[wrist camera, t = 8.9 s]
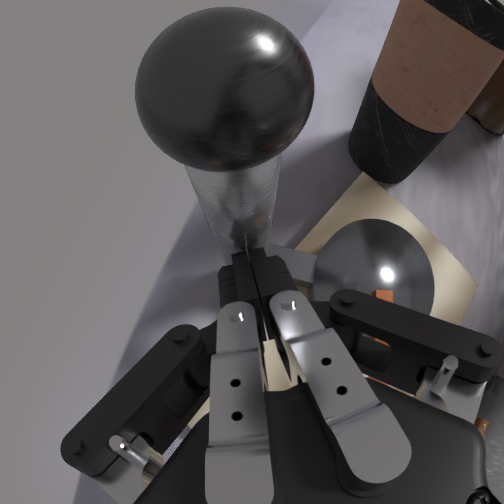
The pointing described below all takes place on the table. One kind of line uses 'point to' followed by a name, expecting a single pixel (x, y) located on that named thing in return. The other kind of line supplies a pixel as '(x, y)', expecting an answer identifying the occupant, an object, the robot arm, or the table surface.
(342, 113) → the table surface
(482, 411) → the serving board
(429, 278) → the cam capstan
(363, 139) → the travel mug
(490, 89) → the plant pot
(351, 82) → the table surface
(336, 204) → the flat beige board
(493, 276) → the table surface
